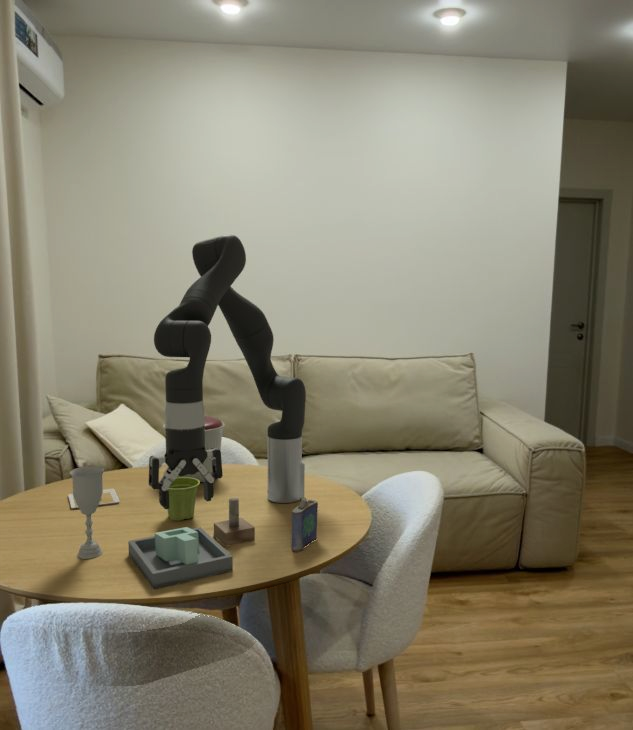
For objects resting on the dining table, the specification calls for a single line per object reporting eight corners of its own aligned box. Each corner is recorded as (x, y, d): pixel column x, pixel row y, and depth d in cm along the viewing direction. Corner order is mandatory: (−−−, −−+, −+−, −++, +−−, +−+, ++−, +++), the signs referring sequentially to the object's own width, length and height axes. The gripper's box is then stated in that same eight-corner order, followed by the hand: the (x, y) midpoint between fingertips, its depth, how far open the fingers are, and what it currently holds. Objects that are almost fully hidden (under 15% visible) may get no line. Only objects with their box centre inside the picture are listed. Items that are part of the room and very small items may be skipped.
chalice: (78, 547, 136) (75, 466, 133) (110, 546, 136) (108, 466, 134) (68, 561, 128) (64, 476, 126) (101, 560, 129) (99, 475, 127)
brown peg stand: (241, 530, 146) (241, 492, 145) (254, 540, 140) (254, 501, 139) (213, 535, 143) (213, 497, 142) (225, 546, 137) (225, 506, 136)
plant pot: (191, 525, 149) (190, 489, 148) (154, 521, 151) (154, 487, 150) (206, 511, 158) (205, 478, 157) (171, 508, 160) (170, 476, 159)
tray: (200, 540, 140) (200, 527, 140) (232, 570, 125) (232, 556, 124) (128, 554, 132) (128, 541, 132) (153, 589, 117) (153, 574, 116)
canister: (163, 471, 193) (162, 404, 191) (222, 468, 197) (221, 403, 195) (163, 489, 176) (162, 416, 173) (228, 485, 180) (227, 413, 178)
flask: (298, 553, 134) (299, 504, 132) (287, 550, 135) (287, 502, 134) (319, 538, 142) (320, 493, 140) (308, 536, 143) (308, 491, 142)
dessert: (120, 505, 164) (119, 488, 163) (71, 512, 159) (70, 494, 158) (113, 492, 175) (113, 475, 174) (67, 498, 169) (67, 481, 169)
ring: (188, 548, 134) (186, 527, 134) (209, 559, 123) (207, 536, 123) (156, 554, 130) (154, 533, 130) (174, 566, 119) (172, 543, 119)
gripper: (212, 416, 128) (213, 492, 130) (142, 423, 120) (145, 504, 122) (226, 423, 121) (228, 503, 123) (154, 431, 114) (156, 516, 116)
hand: (186, 504), depth 123 cm, fingers open, 8 cm apart
